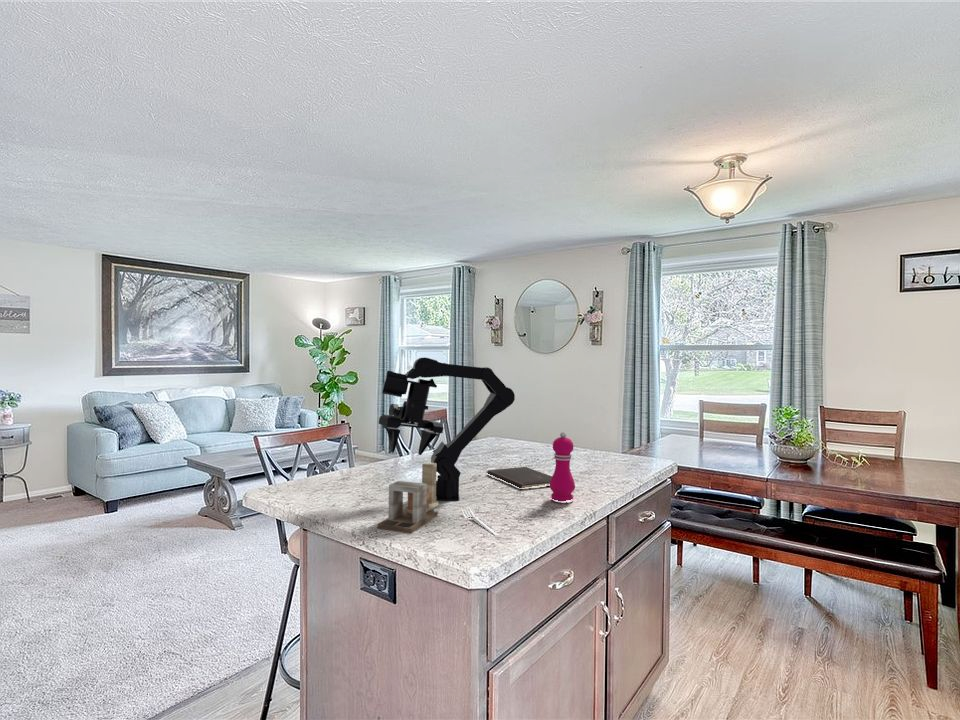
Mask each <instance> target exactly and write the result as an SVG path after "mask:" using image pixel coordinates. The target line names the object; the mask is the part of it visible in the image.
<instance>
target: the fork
mask: <svg viewBox="0 0 960 720" xmlns="http://www.w3.org/2000/svg"><path fill="white" fill-rule="evenodd" d="M468 509H469V510H468ZM460 510H461V514H462V517H463V518H464V517H465V518H468V517H470V518H471V517H475V516H476V514H475V513H474V512H473V511H472V509H471V507H467V506H466V507H463V508H460ZM465 518H464V519H465ZM467 521H474V522H475V523H476V524H477V523H478V524H477V525H479V526H480V525H481V526H482V527H481V526H480V527H481V528H483V527H484V528H485V529H484V528H483V529H484V530H486V531H487V530H488V531H487V532H489V531H490V532H491V533H490V532H489V533H490V534H492V533H493V534H494V535H493V534H492V535H493V536H495V535H498V534H497V533H496V532H495V531H494V530H493V529H492V528H490V527H489V526H488V525H486V524H485V523H484V522H483V521H482V520H481V519H480V518H479V517H477V516H476V517H475V518H471V519H468V520H467Z"/></svg>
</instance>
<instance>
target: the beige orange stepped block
mask: <svg viewBox="0 0 960 720" xmlns="http://www.w3.org/2000/svg"><path fill="white" fill-rule="evenodd" d="M421 465H422V466H421V467H422V471H421V474H422V475H421V483H424V484H427V496H426V512H428V511H432V510H433V509H434V508H435V507H437V506H438V505H439V501H437V497H436V481H437V472H436V467H437V463H431V462H424V463H422V464H421ZM407 508H408V509H407V510H406V513H409V514H413V493H410V492H407Z"/></svg>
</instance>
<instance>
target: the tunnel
mask: <svg viewBox="0 0 960 720" xmlns="http://www.w3.org/2000/svg"><path fill="white" fill-rule="evenodd" d="M408 492H410V493H413V514H409V513H406V510H407V509H408V507H405V508H404V509H403V507H404V506H403V505H404V493H408ZM426 496H427V484H424V483H422V482H414V481H404V480H398V481H395V482H393V483H390V484H389V485H388V508H387V509H388V513H387V515H388V516H387V517H388V518H386V519H383V520H382V521H380V522H378V523H377V527H376V528H377V529H381V530H386V531H387V530H388V531H393V530H394V532H401V533H407V534H409V533H410V534H412V533H414V532H415V531H417V530H418V529H420V528H421V527H423V526H424V525H426V524H427V523H429V522H431V521H432V520H434V519H435V518H437V517H438V514H439V513H438V511H433V510H429V511H428V512H426Z"/></svg>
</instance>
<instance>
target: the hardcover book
mask: <svg viewBox="0 0 960 720" xmlns="http://www.w3.org/2000/svg"><path fill="white" fill-rule="evenodd" d="M487 473H488V474H490V475H493V476H495V477H497V478H500V479H502V480H504V481H506V482H508V483H511V484H513V485H515V486H517V487H519V488H525V487H532V486H539V485H545V484H550V481H551V478H552V476H553V475H549V474H546V473H544V472H541V471H538V470H536V469H532V468H530V467H527V466H519V467H510V468H499V469H498V468H497V469H488V470H487V472H486V474H487Z"/></svg>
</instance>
